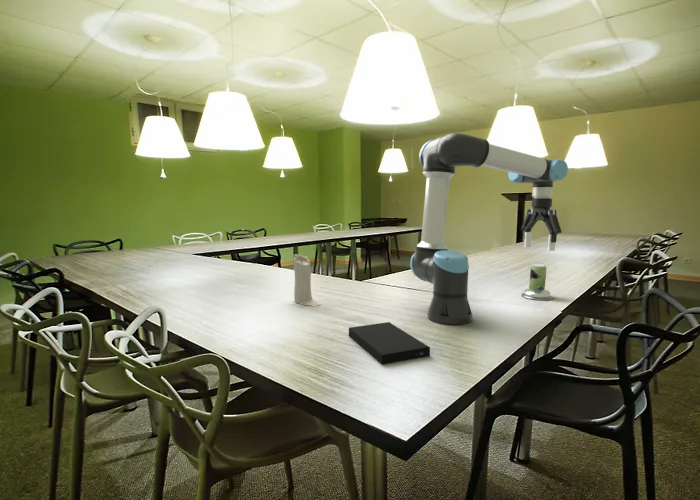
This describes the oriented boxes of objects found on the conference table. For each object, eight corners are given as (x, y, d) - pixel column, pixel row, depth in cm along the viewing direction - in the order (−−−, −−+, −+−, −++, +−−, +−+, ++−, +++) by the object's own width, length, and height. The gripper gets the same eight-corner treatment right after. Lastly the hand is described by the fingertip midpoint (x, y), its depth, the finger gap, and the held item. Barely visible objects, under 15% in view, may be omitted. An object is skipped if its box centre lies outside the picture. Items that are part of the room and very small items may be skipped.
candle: (310, 307, 150) (309, 257, 148) (291, 300, 161) (289, 254, 158) (324, 304, 155) (324, 255, 153) (305, 298, 165) (304, 252, 163)
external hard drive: (389, 330, 123) (389, 322, 123) (429, 357, 102) (430, 346, 102) (348, 337, 118) (348, 327, 118) (382, 366, 97) (382, 355, 96)
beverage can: (541, 289, 167) (542, 262, 165) (548, 293, 159) (549, 265, 158) (526, 289, 167) (527, 262, 166) (532, 293, 160) (534, 265, 158)
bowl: (535, 301, 156) (535, 295, 156) (515, 294, 168) (515, 289, 167) (559, 299, 159) (559, 293, 159) (538, 292, 171) (538, 287, 171)
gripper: (574, 197, 147) (570, 251, 150) (528, 198, 171) (525, 245, 174) (558, 197, 145) (554, 252, 148) (514, 198, 169) (511, 245, 172)
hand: (538, 248), depth 161 cm, fingers open, 13 cm apart
